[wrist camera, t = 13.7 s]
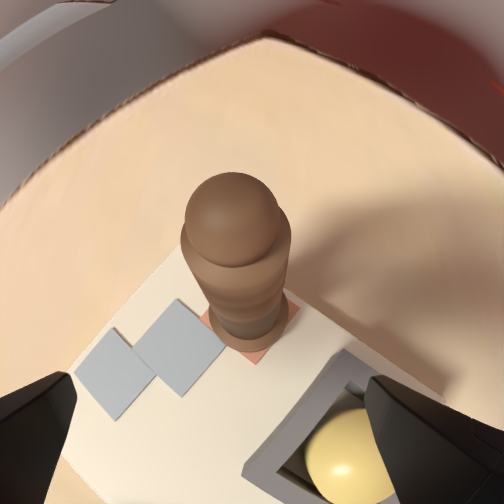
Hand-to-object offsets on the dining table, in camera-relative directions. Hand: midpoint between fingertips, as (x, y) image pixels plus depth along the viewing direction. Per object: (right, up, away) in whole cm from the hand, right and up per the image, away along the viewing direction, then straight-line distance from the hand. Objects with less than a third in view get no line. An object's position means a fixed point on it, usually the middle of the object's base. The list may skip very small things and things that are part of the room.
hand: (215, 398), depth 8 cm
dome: (+7, -8, +7) cm, 13 cm away
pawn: (+1, 0, +12) cm, 12 cm away
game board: (-1, -8, +10) cm, 13 cm away
